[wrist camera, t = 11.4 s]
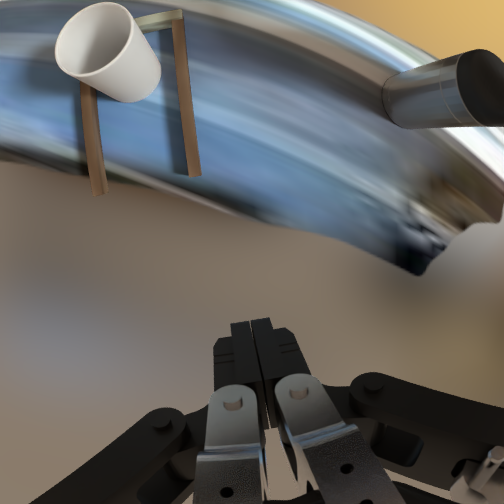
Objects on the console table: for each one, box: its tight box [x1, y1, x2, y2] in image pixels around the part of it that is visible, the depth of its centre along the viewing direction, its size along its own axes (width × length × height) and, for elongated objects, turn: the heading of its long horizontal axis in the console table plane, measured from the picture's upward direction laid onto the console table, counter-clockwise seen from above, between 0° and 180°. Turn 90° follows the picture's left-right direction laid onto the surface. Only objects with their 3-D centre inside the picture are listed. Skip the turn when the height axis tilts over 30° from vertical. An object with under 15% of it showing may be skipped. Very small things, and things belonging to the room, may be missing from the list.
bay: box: [80, 9, 202, 197], centre depth 35 cm, size 15×24×3 cm, turn 7°
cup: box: [55, 2, 161, 103], centre depth 27 cm, size 8×8×16 cm
